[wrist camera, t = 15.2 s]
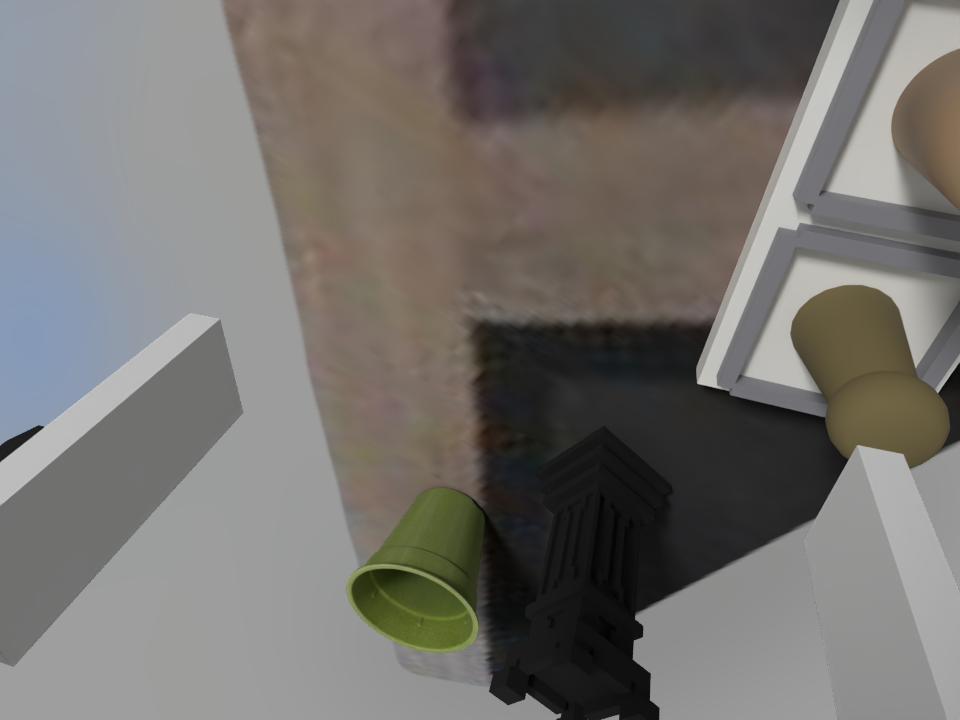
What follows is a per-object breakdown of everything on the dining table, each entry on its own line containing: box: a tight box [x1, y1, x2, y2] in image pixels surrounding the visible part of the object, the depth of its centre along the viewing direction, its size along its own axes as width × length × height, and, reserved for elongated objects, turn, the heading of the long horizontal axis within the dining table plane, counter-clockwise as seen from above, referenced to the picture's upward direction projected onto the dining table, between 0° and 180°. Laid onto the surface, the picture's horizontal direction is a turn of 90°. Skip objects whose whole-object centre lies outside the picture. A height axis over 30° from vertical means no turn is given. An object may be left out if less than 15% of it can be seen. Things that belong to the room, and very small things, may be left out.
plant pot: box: [346, 488, 485, 653], centre depth 56 cm, size 12×12×11 cm
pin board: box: [696, 0, 960, 418], centre depth 31 cm, size 26×14×13 cm, turn 173°
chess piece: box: [489, 426, 671, 720], centre depth 45 cm, size 8×8×20 cm
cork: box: [790, 285, 950, 468], centre depth 34 cm, size 6×6×11 cm
